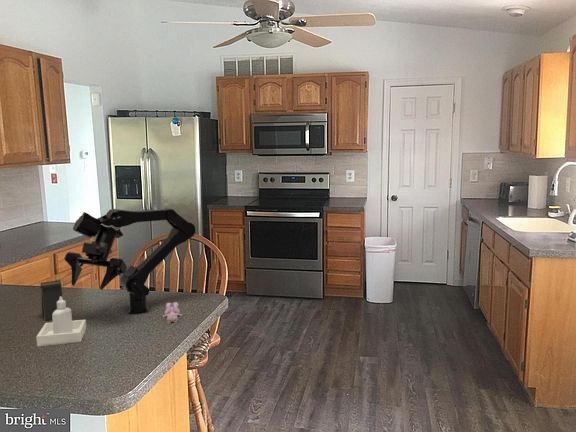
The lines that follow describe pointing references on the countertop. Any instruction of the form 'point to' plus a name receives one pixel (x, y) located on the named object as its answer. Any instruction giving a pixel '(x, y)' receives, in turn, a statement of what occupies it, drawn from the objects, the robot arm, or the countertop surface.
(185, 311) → the countertop surface
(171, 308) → the pink creature figurine
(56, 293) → the phone stand
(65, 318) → the eye dropper bottle
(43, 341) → the tray
